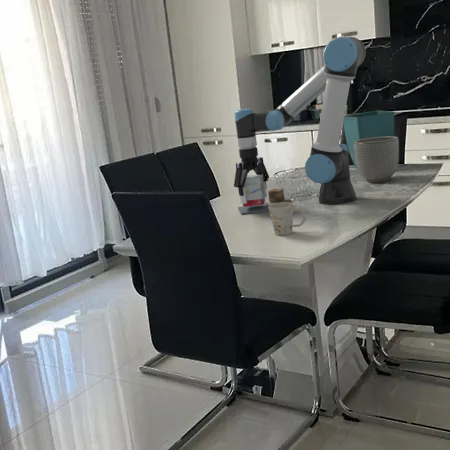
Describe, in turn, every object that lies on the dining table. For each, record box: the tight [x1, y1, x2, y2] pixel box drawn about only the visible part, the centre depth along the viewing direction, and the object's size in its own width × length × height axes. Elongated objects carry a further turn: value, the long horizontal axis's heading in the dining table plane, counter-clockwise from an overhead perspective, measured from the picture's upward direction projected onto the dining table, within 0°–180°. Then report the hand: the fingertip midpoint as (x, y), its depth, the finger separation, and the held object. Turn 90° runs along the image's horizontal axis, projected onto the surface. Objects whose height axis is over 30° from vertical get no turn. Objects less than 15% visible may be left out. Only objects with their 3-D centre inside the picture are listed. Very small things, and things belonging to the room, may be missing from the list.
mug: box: [268, 201, 307, 236], centre depth 216 cm, size 8×13×10 cm, turn 95°
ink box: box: [242, 174, 266, 207], centre depth 259 cm, size 9×9×12 cm
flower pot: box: [342, 110, 395, 170], centre depth 319 cm, size 20×20×28 cm
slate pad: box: [237, 202, 270, 216], centre depth 260 cm, size 13×13×1 cm
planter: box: [354, 135, 399, 184], centre depth 286 cm, size 20×20×19 cm
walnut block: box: [267, 188, 285, 204], centre depth 272 cm, size 5×5×5 cm
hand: (254, 200), depth 260 cm, fingers closed on ink box, 11 cm apart
